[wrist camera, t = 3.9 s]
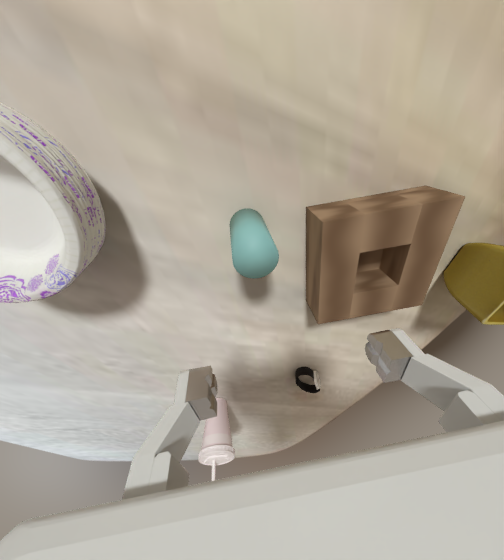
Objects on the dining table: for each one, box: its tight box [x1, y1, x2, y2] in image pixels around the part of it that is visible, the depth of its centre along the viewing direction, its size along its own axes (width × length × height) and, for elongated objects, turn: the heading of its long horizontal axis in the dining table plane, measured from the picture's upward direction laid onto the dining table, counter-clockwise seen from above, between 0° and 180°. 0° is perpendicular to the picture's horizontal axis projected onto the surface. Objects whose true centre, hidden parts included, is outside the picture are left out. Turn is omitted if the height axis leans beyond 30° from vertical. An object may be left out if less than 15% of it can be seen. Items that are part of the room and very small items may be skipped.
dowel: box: [230, 209, 279, 278], centre depth 22 cm, size 4×4×8 cm
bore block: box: [306, 186, 465, 324], centre depth 27 cm, size 14×14×5 cm
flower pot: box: [444, 243, 504, 325], centre depth 29 cm, size 9×9×9 cm
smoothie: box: [199, 398, 235, 481], centre depth 41 cm, size 6×6×14 cm
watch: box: [296, 367, 321, 393], centre depth 43 cm, size 8×5×4 cm, turn 26°
